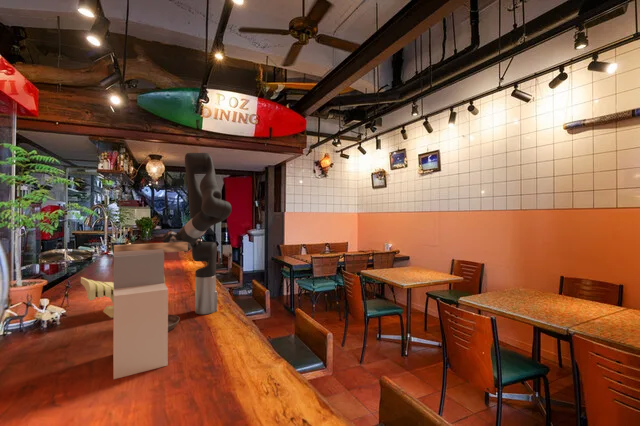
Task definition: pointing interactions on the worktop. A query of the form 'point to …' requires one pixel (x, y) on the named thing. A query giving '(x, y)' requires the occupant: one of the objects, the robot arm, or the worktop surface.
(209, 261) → the robot arm
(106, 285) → the slatted curved stool
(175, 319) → the plant saucer
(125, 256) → the stepped stand
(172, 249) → the maple bar
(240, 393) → the worktop surface
